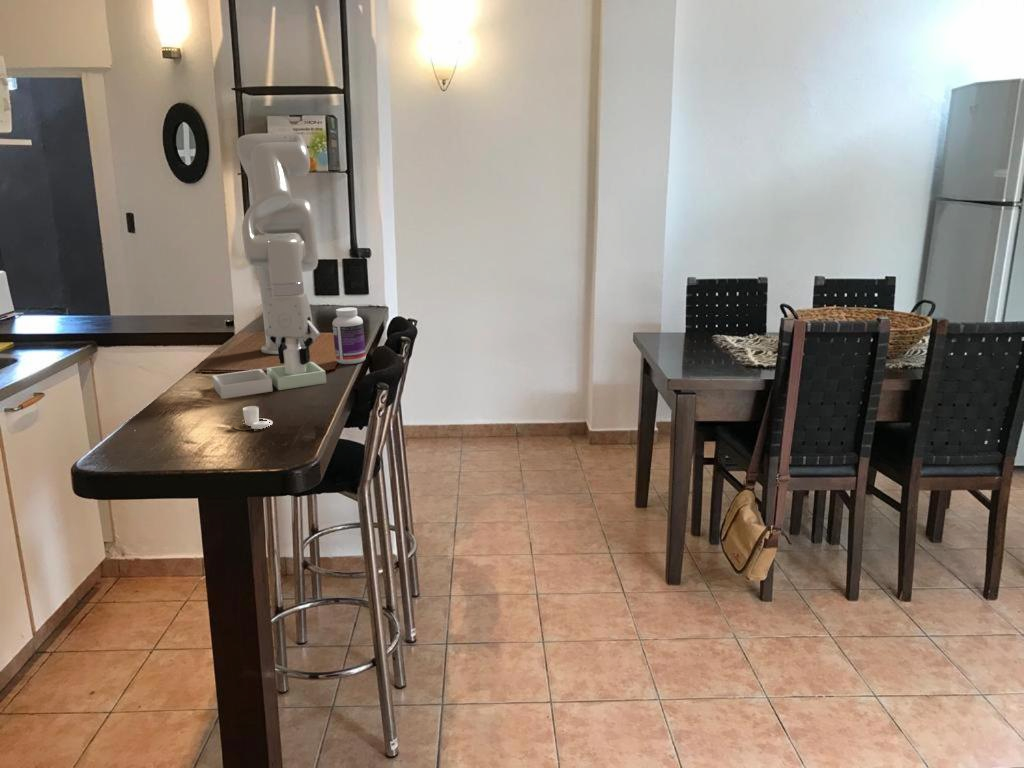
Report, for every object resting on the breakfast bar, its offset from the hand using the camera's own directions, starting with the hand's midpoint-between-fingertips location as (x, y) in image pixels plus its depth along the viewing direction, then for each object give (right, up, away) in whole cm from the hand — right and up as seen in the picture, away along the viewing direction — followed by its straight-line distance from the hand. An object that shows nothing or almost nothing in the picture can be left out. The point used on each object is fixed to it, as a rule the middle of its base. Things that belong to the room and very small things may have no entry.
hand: (294, 362), depth 199 cm
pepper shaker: (0, -3, +1) cm, 3 cm away
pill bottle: (+10, 0, +20) cm, 22 cm away
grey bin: (-11, -7, -5) cm, 14 cm away
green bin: (0, -5, +1) cm, 5 cm away
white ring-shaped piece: (-1, -15, -34) cm, 37 cm away
